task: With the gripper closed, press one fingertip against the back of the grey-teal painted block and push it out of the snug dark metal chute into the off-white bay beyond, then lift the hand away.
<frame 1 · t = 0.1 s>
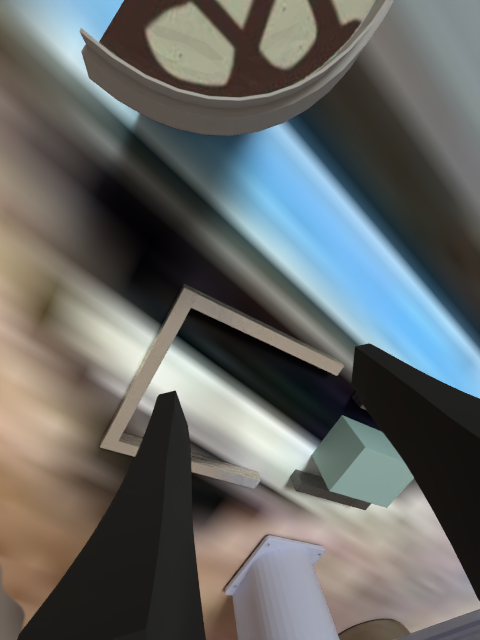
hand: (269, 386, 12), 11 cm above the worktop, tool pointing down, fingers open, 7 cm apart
food container: (240, 76, 17), on the worktop
painted block: (352, 444, 30), on the worktop
chute: (353, 446, 30), on the worktop
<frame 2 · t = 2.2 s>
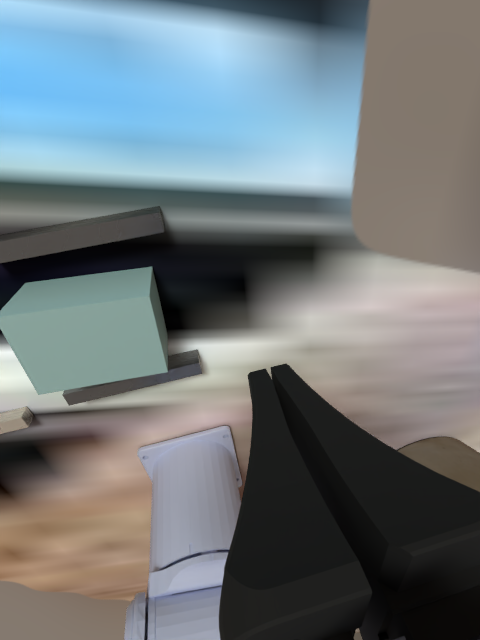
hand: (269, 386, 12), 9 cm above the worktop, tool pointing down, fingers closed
plant pot: (409, 470, 39), on the worktop
painted block: (103, 310, 19), on the worktop
chute: (103, 311, 19), on the worktop
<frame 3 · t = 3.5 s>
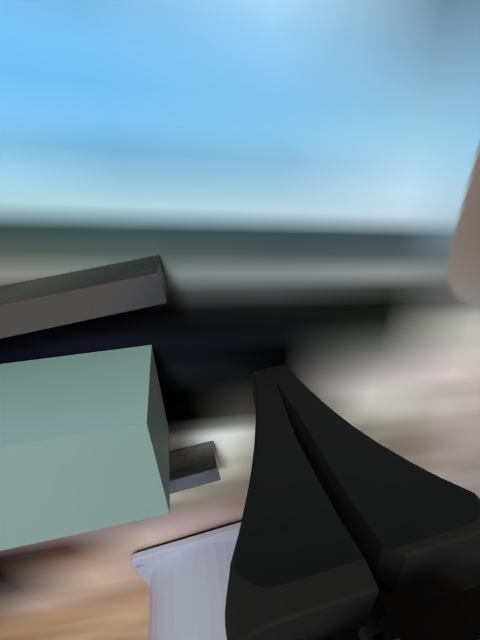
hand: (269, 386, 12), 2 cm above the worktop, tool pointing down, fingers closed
painted block: (75, 401, 13), on the worktop
chute: (73, 405, 13), on the worktop
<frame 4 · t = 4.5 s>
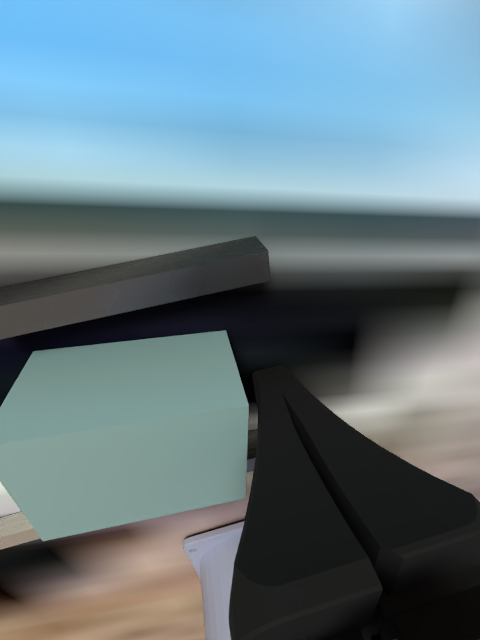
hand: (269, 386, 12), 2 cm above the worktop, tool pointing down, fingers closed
painted block: (145, 388, 13), on the worktop, touching gripper
chute: (154, 386, 13), on the worktop
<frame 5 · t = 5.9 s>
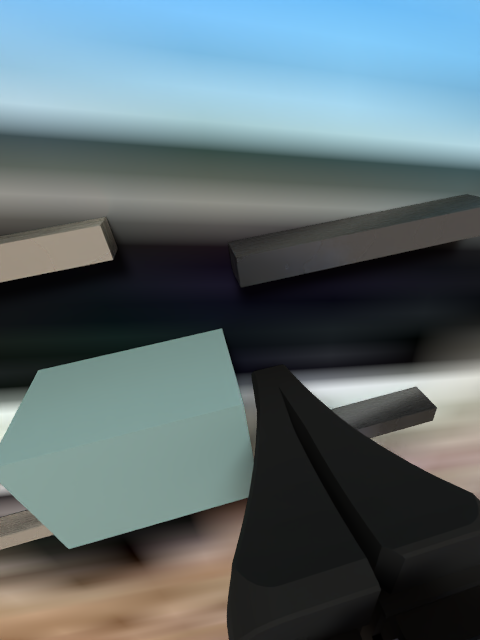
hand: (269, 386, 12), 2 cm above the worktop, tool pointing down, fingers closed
painted block: (151, 394, 13), on the worktop, touching gripper
chute: (333, 343, 14), on the worktop
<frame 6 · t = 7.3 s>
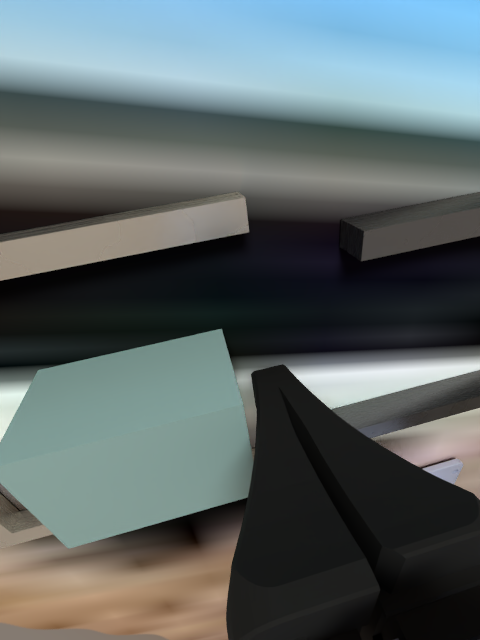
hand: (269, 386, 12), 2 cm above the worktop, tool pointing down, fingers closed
painted block: (151, 394, 13), on the worktop, touching gripper
chute: (415, 323, 14), on the worktop
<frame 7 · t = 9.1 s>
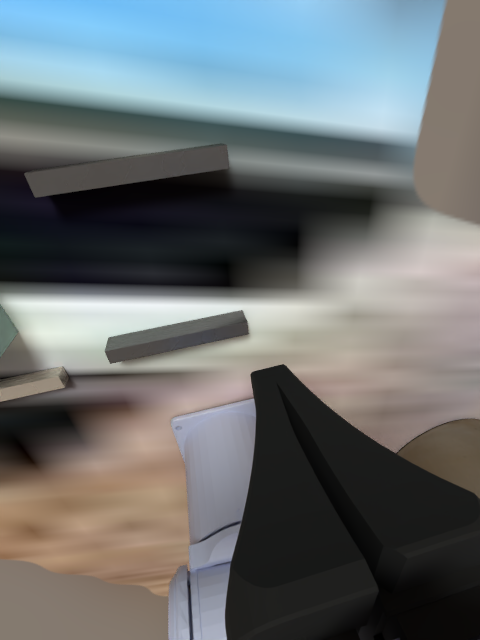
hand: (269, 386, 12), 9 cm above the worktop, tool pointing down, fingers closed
plant pot: (435, 454, 38), on the worktop
chute: (151, 262, 18), on the worktop
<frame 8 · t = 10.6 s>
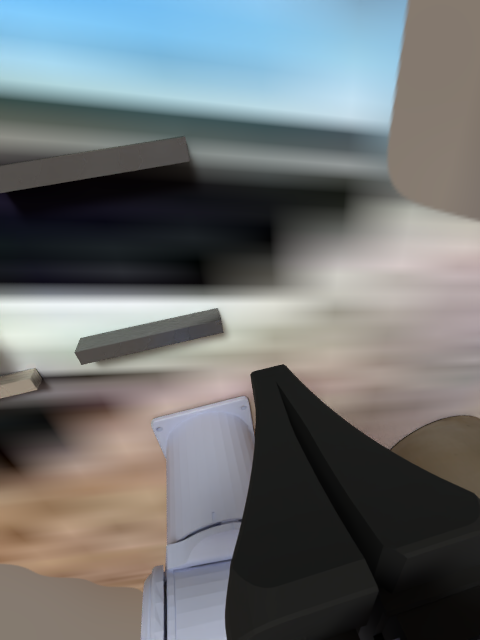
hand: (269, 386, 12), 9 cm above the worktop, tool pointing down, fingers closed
plant pot: (429, 452, 38), on the worktop
chute: (119, 260, 18), on the worktop
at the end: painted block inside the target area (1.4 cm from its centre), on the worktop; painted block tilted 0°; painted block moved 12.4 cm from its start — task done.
